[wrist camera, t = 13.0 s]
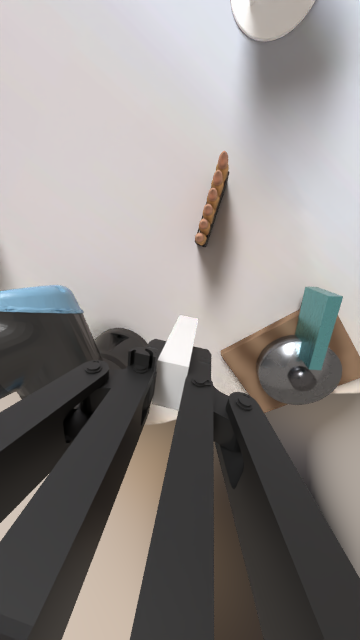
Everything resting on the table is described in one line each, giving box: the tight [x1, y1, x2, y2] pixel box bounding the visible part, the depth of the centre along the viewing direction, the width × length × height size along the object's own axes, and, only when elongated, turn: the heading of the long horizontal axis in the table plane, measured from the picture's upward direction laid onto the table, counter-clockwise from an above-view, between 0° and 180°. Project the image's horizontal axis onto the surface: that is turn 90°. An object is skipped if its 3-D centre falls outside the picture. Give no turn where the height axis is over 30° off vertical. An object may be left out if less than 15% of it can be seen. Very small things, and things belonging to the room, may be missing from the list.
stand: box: [221, 309, 360, 413], centre depth 39 cm, size 22×18×2 cm
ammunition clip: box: [195, 151, 229, 247], centre depth 28 cm, size 11×2×12 cm, turn 163°
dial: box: [256, 287, 343, 405], centre depth 33 cm, size 23×14×7 cm, turn 0°
